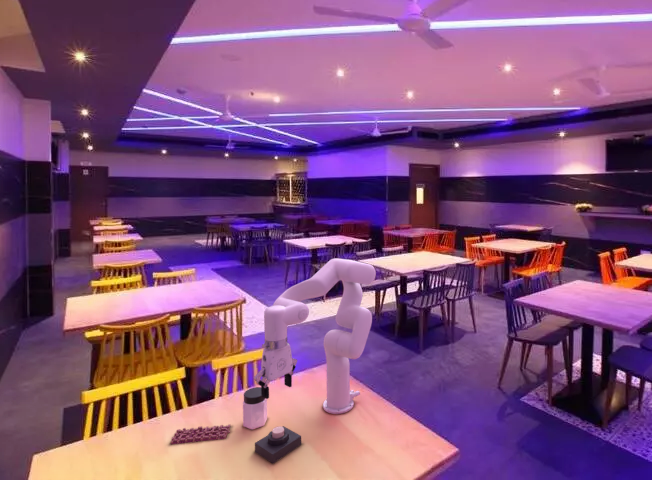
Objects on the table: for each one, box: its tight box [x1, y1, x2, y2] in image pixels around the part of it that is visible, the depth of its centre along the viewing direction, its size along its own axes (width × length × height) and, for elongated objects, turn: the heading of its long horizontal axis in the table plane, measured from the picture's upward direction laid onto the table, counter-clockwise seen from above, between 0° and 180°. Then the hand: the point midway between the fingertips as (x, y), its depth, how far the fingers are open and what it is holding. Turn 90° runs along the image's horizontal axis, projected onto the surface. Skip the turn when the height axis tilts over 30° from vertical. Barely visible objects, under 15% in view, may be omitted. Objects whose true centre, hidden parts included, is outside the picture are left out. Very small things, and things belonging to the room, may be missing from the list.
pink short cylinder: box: [271, 425, 284, 439], centre depth 138 cm, size 4×4×2 cm
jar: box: [242, 386, 268, 430], centre depth 153 cm, size 9×8×12 cm
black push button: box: [254, 425, 302, 464], centre depth 138 cm, size 12×10×5 cm
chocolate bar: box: [170, 423, 231, 445], centre depth 146 cm, size 7×19×2 cm, turn 100°
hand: (277, 391), depth 138 cm, fingers open, 9 cm apart
